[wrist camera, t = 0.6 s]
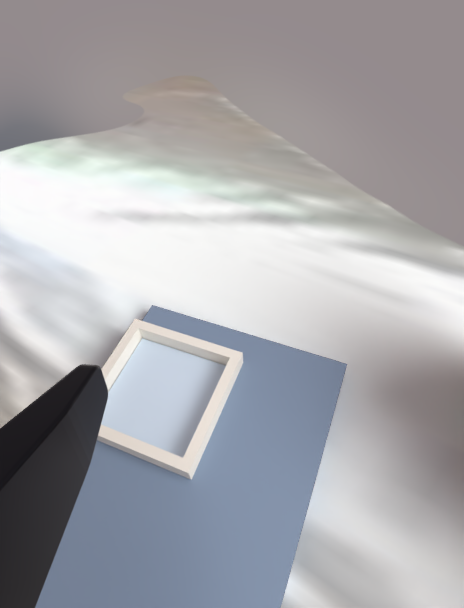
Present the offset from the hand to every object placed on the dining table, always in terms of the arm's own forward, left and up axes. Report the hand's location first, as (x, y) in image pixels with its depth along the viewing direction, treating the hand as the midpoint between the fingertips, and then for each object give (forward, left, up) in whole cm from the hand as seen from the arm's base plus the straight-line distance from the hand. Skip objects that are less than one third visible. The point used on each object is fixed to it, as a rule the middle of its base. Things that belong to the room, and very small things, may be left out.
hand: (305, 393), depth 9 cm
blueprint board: (0, +6, -16) cm, 17 cm away
